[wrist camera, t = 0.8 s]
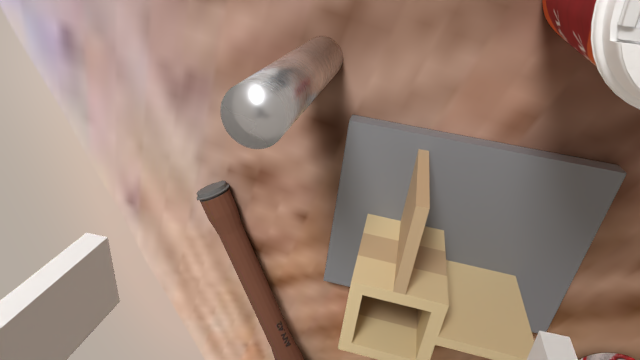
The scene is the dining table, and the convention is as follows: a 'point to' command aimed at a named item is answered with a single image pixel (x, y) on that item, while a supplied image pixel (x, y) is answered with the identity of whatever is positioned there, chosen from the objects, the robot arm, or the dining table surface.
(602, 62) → the coffee cup
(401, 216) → the stand
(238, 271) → the mallet
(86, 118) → the dining table surface
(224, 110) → the hinge pin
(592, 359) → the soda can
